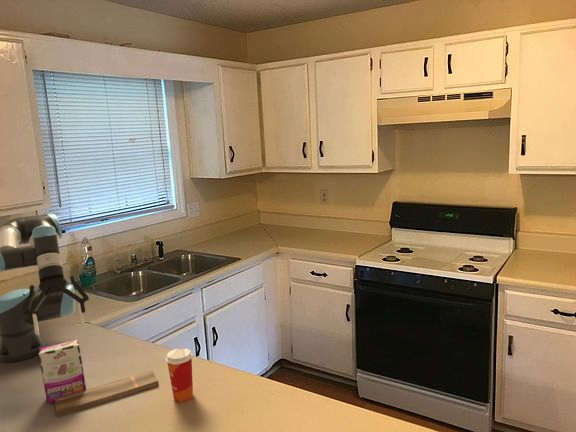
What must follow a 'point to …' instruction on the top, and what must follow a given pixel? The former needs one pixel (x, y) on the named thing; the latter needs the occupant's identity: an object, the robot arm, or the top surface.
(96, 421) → the top surface
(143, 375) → the walnut board
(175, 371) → the paper cup
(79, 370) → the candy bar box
